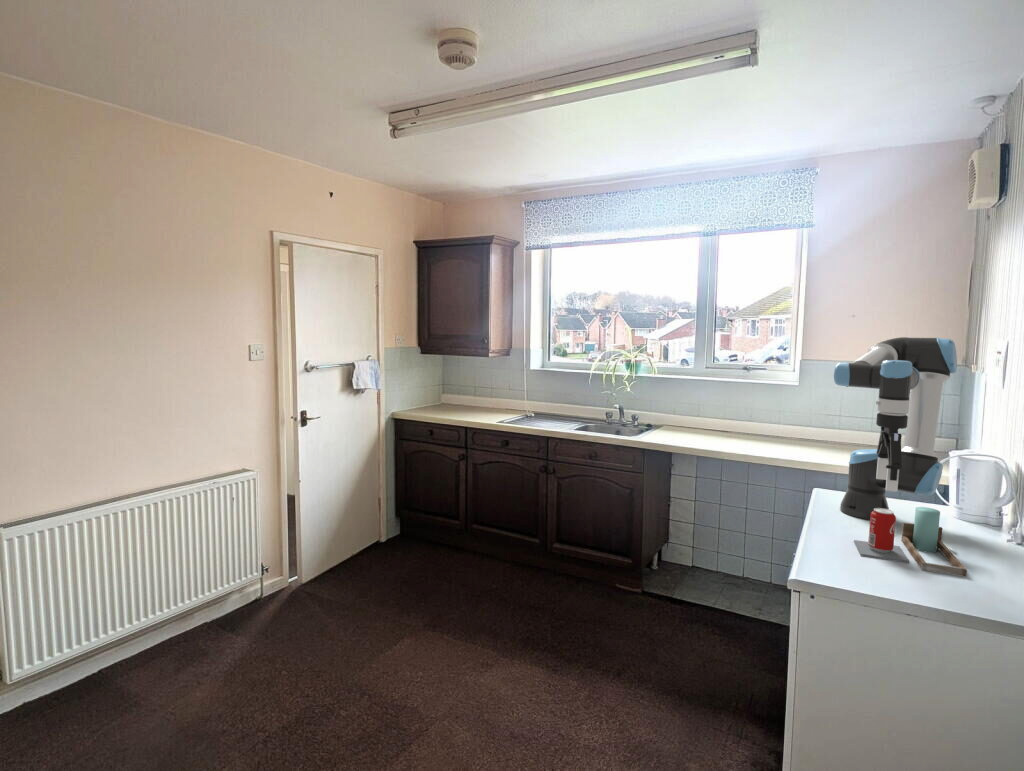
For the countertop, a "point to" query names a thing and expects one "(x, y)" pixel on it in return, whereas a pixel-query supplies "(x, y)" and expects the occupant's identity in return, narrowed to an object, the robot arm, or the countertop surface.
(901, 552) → the coaster
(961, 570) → the dispenser rack
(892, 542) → the beverage can
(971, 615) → the countertop surface
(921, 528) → the can
